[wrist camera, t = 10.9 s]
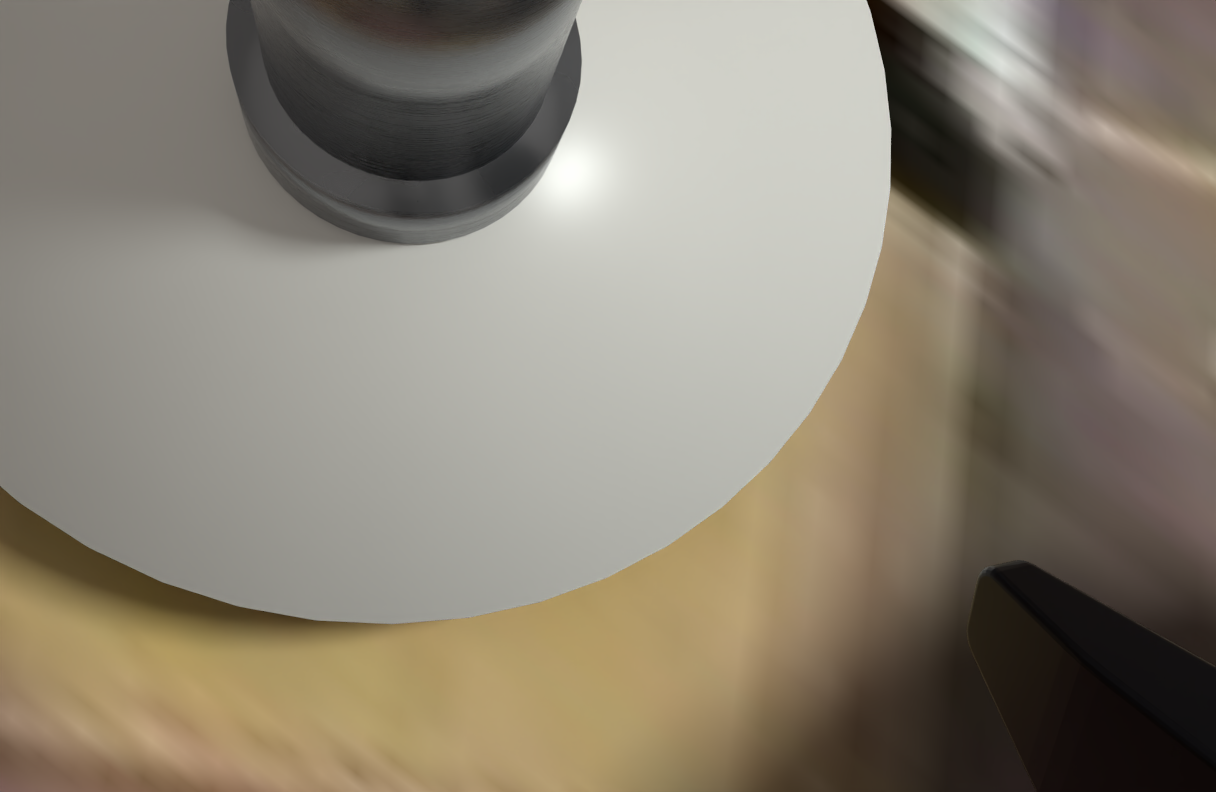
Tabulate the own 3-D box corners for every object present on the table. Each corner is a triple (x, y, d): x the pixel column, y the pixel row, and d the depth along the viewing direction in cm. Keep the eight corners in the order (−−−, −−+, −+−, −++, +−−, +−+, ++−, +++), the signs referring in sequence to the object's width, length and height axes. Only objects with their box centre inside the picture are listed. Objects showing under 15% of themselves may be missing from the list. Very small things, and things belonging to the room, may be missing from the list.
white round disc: (277, 860, 20) (272, 877, 19) (-427, -71, 20) (-471, -107, 19) (1039, 238, 26) (1068, 224, 25) (505, -486, 26) (511, -531, 25)
